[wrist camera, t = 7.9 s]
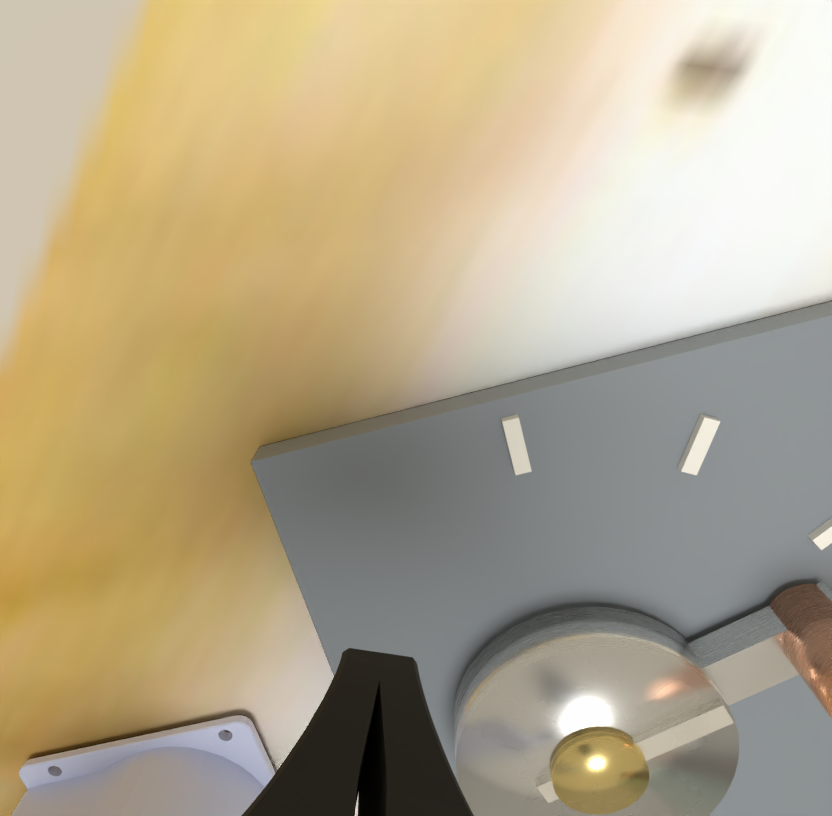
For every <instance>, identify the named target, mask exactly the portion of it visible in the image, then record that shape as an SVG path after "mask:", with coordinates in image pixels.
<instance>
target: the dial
mask: <svg viewBox="0 0 832 816" xmlns="http://www.w3.org/2000/svg"><path fill="white" fill-rule="evenodd" d="M797 675H800V676H801V678H802V679H803V680H804V682H805V683H806V685H807V686H808V687H809V689H810V690H811V691H812V693H813V694H814V695H815V697H816V698H817V700H818V701H819V702H820V704H821V705H822V706H823V708H824V709H825V711H826V712H827V713H828V715H829V716H830V717H831V719H832V591H831V590H830V589H829V588H828V587H827V586H826V585H825V584H824V583H823V582H819V583H817V584H801V585H797V586H793V587H791V588H788V589H787V590H785V591H783V592H782V593H780V594H779V595H778V596H776V597H775V598H774V600H773V601H772V602H771V603H770V605H769V606H768V607H765V608H763V609H761V610H759V611H757V612H755V613H752V614H750V615H748V616H746V617H744V618H742V619H740V620H737V621H735V622H733V623H731V624H729V625H727V626H724V627H722V628H720V629H718V630H716V631H714V632H711V633H709V634H707V635H705V636H703V637H701V638H698V639H696V640H694V641H692V642H690V643H688V642H687V641H686V640H685V639H684V638H683V637H682V636H681V635H679V634H678V633H677V632H675V631H674V630H673V629H671V628H670V627H668V626H666V625H664V624H663V623H661V622H659V621H657V620H655V619H652V618H650V617H647V616H645V615H642V614H639V613H635V612H632V611H628V610H623V609H617V608H610V607H576V608H568V609H563V610H557V611H552V612H549V613H546V614H542V615H539V616H536V617H534V618H531V619H529V620H526V621H524V622H522V623H520V624H518V625H516V626H514V627H512V628H511V629H509V630H507V631H505V632H504V633H503V634H501V635H500V636H499V637H497V638H496V639H494V640H493V641H492V642H491V643H490V644H489V645H488V646H486V647H485V648H484V649H483V650H482V651H481V652H480V653H479V655H478V656H477V657H476V658H475V659H474V661H473V662H472V663H471V664H470V666H469V668H468V669H467V671H466V673H465V674H464V676H463V678H462V681H461V683H460V685H459V688H458V690H457V694H456V699H455V703H454V717H453V718H454V739H455V759H456V772H457V780H458V783H459V786H460V788H461V791H462V793H463V795H464V797H465V799H466V801H467V803H468V805H469V807H470V809H471V811H472V813H473V814H474V816H709V815H710V814H711V813H712V812H713V810H714V809H715V808H716V807H717V806H718V804H719V803H720V802H721V800H722V799H723V797H724V796H725V794H726V792H727V791H728V789H729V787H730V785H731V782H732V780H733V778H734V775H735V772H736V768H737V764H738V758H739V738H738V731H737V727H736V724H735V720H734V717H733V715H732V713H731V711H730V709H729V707H728V706H729V705H731V704H733V703H736V702H738V701H740V700H742V699H745V698H747V697H749V696H751V695H754V694H756V693H758V692H761V691H763V690H765V689H767V688H770V687H772V686H774V685H777V684H779V683H781V682H783V681H786V680H788V679H790V678H793V677H795V676H797Z"/></svg>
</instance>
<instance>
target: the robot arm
mask: <svg viewBox="0 0 832 816" xmlns="http://www.w3.org/2000/svg"><path fill="white" fill-rule="evenodd" d="M223 730H228V731H230V732H225V731H223ZM19 775H20V778H21V780H22V781H23V783H24V784H25V786H26V788H27V789H28V790H27V791H26V792H25V794H24V795H23V797H22V799H21V800H20V802H19V803H18V805H17V806H16V808H15V810H14V811H13V813H12V814H11V816H354V815H355V806H356V801H357V796H358V792H359V800H358V816H474V815H473V813H472V811H471V809H470V807H469V805H468V803H467V801H466V799H465V797H464V795H463V793H462V791H461V788H460V786H459V784H458V782H457V780H456V778H455V775H454V773H453V771H452V769H451V766H450V764H449V762H448V759H447V757H446V755H445V752H444V749H443V747H442V744H441V742H440V739H439V736H438V734H437V731H436V729H435V726H434V723H433V720H432V717H431V714H430V711H429V708H428V705H427V702H426V699H425V695H424V692H423V688H422V684H421V680H420V676H419V671H418V666H417V662H416V661H415V660H414V658H413V657H408V656H401V655H394V654H387V653H381V652H374V651H367V650H360V649H354V648H348V649H347V650H345V651H343V652H342V656H341V660H340V663H339V666H338V669H337V671H336V674H335V676H334V678H333V680H332V683H331V685H330V687H329V689H328V691H327V693H326V695H325V697H324V699H323V700H322V702H321V704H320V706H319V707H318V709H317V711H316V712H315V714H314V716H313V718H312V719H311V721H310V723H309V725H308V726H307V728H306V729H305V731H304V733H303V734H302V736H301V737H300V739H299V740H298V742H297V743H296V745H295V746H294V748H293V749H292V750H291V752H290V753H289V755H288V756H287V758H286V759H285V761H284V762H283V764H282V765H281V767H280V768H279V769H278V771H277V772H276V773H275V771H274V768H273V766H272V764H271V762H270V760H269V757H268V755H267V753H266V751H265V749H264V746H263V744H262V742H261V740H260V737H259V735H258V733H257V731H256V729H255V726H254V724H253V722H252V721H251V720H250V719H249V718H247V717H246V716H242V715H236V716H231V717H226V718H221V719H217V720H212V721H207V722H203V723H198V724H193V725H189V726H184V727H179V728H174V729H170V730H165V731H160V732H156V733H151V734H146V735H141V736H137V737H132V738H127V739H123V740H118V741H113V742H108V743H104V744H99V745H94V746H90V747H85V748H80V749H76V750H71V751H66V752H61V753H57V754H52V755H47V756H43V757H38V758H33V759H29V760H27V761H26V762H25V763H24V764H23V766H22V767H21V769H20V771H19Z"/></svg>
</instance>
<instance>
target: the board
mask: <svg viewBox="0 0 832 816" xmlns="http://www.w3.org/2000/svg"><path fill="white" fill-rule="evenodd" d="M251 465H252V467H253V470H254V472H255V475H256V477H257V480H258V483H259V485H260V488H261V490H262V493H263V495H264V498H265V501H266V503H267V506H268V508H269V511H270V513H271V516H272V518H273V521H274V524H275V526H276V529H277V531H278V534H279V536H280V539H281V542H282V544H283V547H284V549H285V552H286V554H287V557H288V559H289V562H290V565H291V567H292V570H293V572H294V575H295V577H296V580H297V583H298V585H299V588H300V590H301V593H302V595H303V598H304V600H305V603H306V606H307V608H308V611H309V613H310V616H311V618H312V621H313V624H314V626H315V629H316V631H317V634H318V636H319V639H320V641H321V644H322V647H323V649H324V652H325V654H326V657H327V659H328V662H329V665H330V667H331V670H332V672H333V675H334V676H335V674H336V671H337V669H338V666H339V663H340V660H341V656H342V652H343V651H345V650H347V649H348V648H354V649H360V650H367V651H374V652H381V653H387V654H394V655H401V656H408V657H413V658H414V660H415V661H416V662H417V666H418V671H419V676H420V680H421V684H422V688H423V692H424V695H425V699H426V702H427V705H428V708H429V711H430V714H431V717H432V720H433V723H434V726H435V729H436V731H437V734H438V736H439V739H440V742H441V744H442V747H443V749H444V752H445V755H446V757H447V759H448V762H449V764H450V766H451V769H452V771H453V773H454V775H455V778H456V780H457V772H456V759H455V739H454V718H453V717H454V703H455V699H456V694H457V690H458V688H459V685H460V683H461V681H462V678H463V676H464V674H465V673H466V671H467V669H468V668H469V666H470V664H471V663H472V662H473V661H474V659H475V658H476V657H477V656H478V655H479V653H480V652H481V651H482V650H483V649H484V648H485V647H486V646H488V645H489V644H490V643H491V642H492V641H493V640H494V639H496V638H497V637H499V636H500V635H501V634H503V633H504V632H505V631H507V630H509V629H511V628H512V627H514V626H516V625H518V624H520V623H522V622H524V621H526V620H529V619H531V618H534V617H536V616H539V615H542V614H546V613H549V612H552V611H557V610H563V609H568V608H576V607H610V608H617V609H623V610H628V611H632V612H635V613H639V614H642V615H645V616H647V617H650V618H652V619H655V620H657V621H659V622H661V623H663V624H664V625H666V626H668V627H670V628H671V629H673V630H674V631H675V632H677V633H678V634H679V635H681V636H682V637H683V638H684V639H685V640H686V641H687V642H688V643H690V642H692V641H694V640H696V639H698V638H701V637H703V636H705V635H707V634H709V633H711V632H714V631H716V630H718V629H720V628H722V627H724V626H727V625H729V624H731V623H733V622H735V621H737V620H740V619H742V618H744V617H746V616H748V615H750V614H752V613H755V612H757V611H759V610H761V609H763V608H765V607H768V606H769V605H770V603H771V602H772V601H773V600H774V598H775V597H776V596H778V595H779V594H780V593H782V592H783V591H785V590H787V589H788V588H791V587H793V586H797V585H801V584H817V583H819V582H823V583H824V584H825V585H826V586H827V587H828V588H829V589H830V590H831V591H832V301H830V302H826V303H822V304H818V305H814V306H810V307H806V308H802V309H798V310H794V311H791V312H787V313H783V314H779V315H775V316H771V317H767V318H763V319H759V320H755V321H751V322H747V323H743V324H740V325H736V326H732V327H728V328H724V329H720V330H716V331H712V332H708V333H704V334H700V335H696V336H692V337H688V338H685V339H681V340H677V341H673V342H669V343H665V344H661V345H657V346H653V347H649V348H645V349H641V350H637V351H634V352H630V353H626V354H622V355H618V356H614V357H610V358H606V359H602V360H598V361H594V362H590V363H586V364H582V365H579V366H575V367H571V368H567V369H563V370H559V371H555V372H551V373H547V374H543V375H539V376H535V377H531V378H528V379H524V380H520V381H516V382H512V383H508V384H504V385H500V386H496V387H492V388H488V389H484V390H480V391H476V392H473V393H469V394H465V395H461V396H457V397H453V398H449V399H445V400H441V401H437V402H433V403H429V404H425V405H422V406H418V407H414V408H410V409H406V410H402V411H398V412H394V413H390V414H386V415H382V416H378V417H374V418H370V419H367V420H363V421H359V422H355V423H351V424H347V425H343V426H339V427H335V428H331V429H327V430H323V431H319V432H316V433H312V434H308V435H304V436H300V437H296V438H292V439H288V440H284V441H280V442H276V443H272V444H268V445H264V446H261V447H259V448H258V450H257V452H256V454H255V455H254V457H253V459H252V460H251ZM728 707H729V709H730V711H731V713H732V715H733V717H734V720H735V724H736V727H737V731H738V738H739V758H738V764H737V768H736V772H735V775H734V778H733V780H732V782H731V785H730V787H729V789H728V791H727V792H726V794H725V796H724V797H723V799H722V800H721V802H720V803H719V804H718V806H717V807H716V808H715V809H714V810H713V812H712V813H711V814H710V815H709V816H832V719H831V717H830V716H829V715H828V713H827V712H826V711H825V709H824V708H823V706H822V705H821V704H820V702H819V701H818V700H817V698H816V697H815V695H814V694H813V693H812V691H811V690H810V689H809V687H808V686H807V685H806V683H805V682H804V680H803V679H802V678H801V676H800V675H797V676H795V677H793V678H790V679H788V680H786V681H783V682H781V683H779V684H777V685H774V686H772V687H770V688H767V689H765V690H763V691H761V692H758V693H756V694H754V695H751V696H749V697H747V698H745V699H742V700H740V701H738V702H736V703H733V704H731V705H729V706H728ZM457 782H458V780H457ZM458 784H459V783H458ZM473 815H474V814H473Z"/></svg>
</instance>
